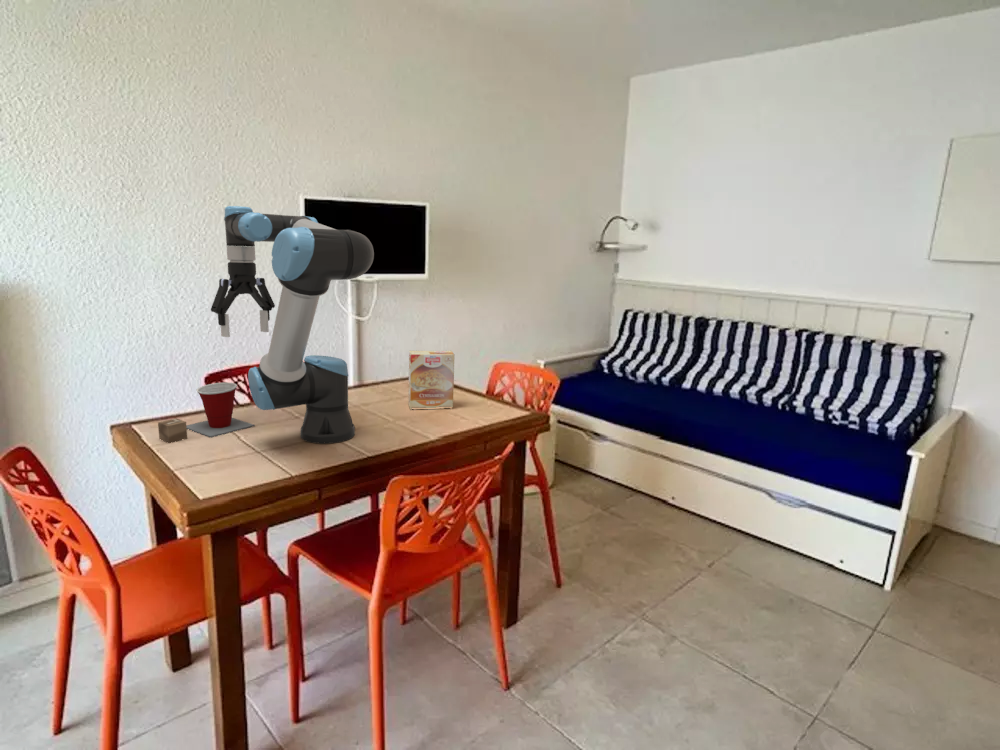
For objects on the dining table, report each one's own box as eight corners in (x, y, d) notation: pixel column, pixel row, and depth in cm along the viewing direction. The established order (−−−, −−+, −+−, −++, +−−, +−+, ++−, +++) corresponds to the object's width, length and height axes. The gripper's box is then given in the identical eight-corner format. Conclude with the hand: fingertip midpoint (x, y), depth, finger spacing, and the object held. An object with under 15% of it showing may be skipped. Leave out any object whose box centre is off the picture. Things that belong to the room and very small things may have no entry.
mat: (254, 426, 176) (254, 424, 176) (210, 437, 165) (210, 436, 165) (226, 417, 184) (226, 415, 184) (182, 427, 172) (182, 426, 172)
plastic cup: (193, 424, 174) (190, 385, 172) (230, 418, 182) (228, 380, 179) (206, 433, 167) (203, 392, 164) (245, 426, 174) (243, 387, 172)
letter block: (187, 439, 163) (186, 421, 162) (169, 443, 159) (167, 425, 158) (177, 435, 166) (176, 417, 165) (159, 439, 162) (157, 421, 161)
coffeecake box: (409, 410, 200) (410, 354, 195) (408, 404, 206) (408, 350, 202) (453, 409, 203) (455, 353, 199) (450, 403, 210) (451, 350, 206)
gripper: (267, 261, 183) (271, 328, 188) (193, 261, 162) (199, 337, 166) (284, 262, 180) (287, 330, 184) (211, 262, 158) (216, 340, 163)
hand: (245, 334), depth 175 cm, fingers open, 13 cm apart
